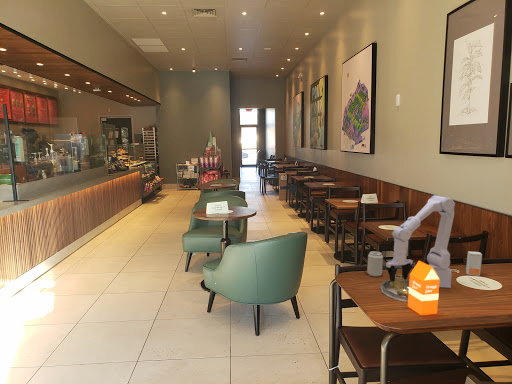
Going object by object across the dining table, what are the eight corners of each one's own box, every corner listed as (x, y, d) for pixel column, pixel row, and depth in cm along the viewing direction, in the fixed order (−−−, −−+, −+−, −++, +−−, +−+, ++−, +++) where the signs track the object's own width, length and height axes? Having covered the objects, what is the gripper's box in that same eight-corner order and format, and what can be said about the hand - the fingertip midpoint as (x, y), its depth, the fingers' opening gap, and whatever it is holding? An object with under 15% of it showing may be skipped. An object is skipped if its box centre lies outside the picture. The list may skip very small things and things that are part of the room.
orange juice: (420, 315, 153) (424, 267, 150) (407, 306, 161) (410, 260, 159) (437, 313, 155) (441, 266, 152) (423, 304, 163) (426, 259, 161)
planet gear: (397, 282, 186) (398, 273, 186) (407, 286, 180) (408, 277, 180) (387, 284, 184) (388, 274, 183) (397, 288, 178) (397, 279, 177)
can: (380, 272, 203) (381, 250, 202) (383, 277, 196) (384, 255, 194) (365, 271, 204) (367, 250, 202) (368, 276, 197) (369, 254, 195)
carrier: (426, 284, 186) (427, 276, 186) (444, 305, 163) (445, 295, 162) (376, 281, 189) (377, 273, 189) (387, 301, 166) (387, 292, 165)
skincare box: (467, 274, 201) (469, 253, 200) (465, 272, 205) (467, 251, 204) (480, 276, 200) (482, 254, 198) (478, 273, 204) (480, 252, 202)
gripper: (405, 248, 186) (403, 275, 188) (382, 251, 180) (380, 279, 182) (416, 252, 180) (414, 280, 181) (392, 255, 174) (391, 284, 176)
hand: (398, 279), depth 181 cm, fingers open, 7 cm apart
